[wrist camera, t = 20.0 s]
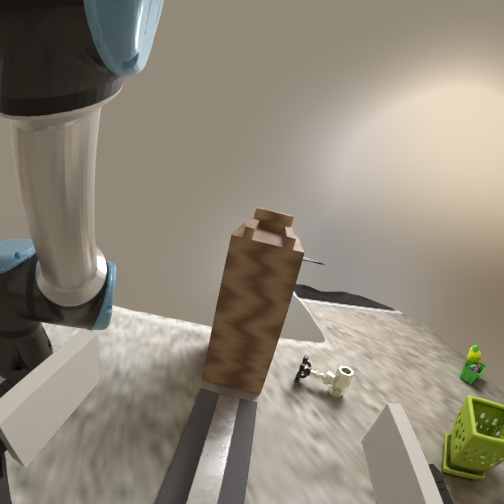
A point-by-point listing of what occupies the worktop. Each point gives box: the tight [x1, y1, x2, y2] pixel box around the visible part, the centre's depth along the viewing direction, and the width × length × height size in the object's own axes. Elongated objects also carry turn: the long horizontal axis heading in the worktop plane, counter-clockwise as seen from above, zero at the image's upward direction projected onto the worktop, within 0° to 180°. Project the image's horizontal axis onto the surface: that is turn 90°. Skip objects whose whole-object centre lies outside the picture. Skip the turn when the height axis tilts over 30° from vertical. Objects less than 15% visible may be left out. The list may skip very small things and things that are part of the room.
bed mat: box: [156, 389, 257, 504], centre depth 35 cm, size 11×29×1 cm, turn 174°
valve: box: [294, 355, 354, 398], centre depth 57 cm, size 7×7×12 cm
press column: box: [202, 207, 304, 394], centre depth 56 cm, size 12×16×34 cm
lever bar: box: [186, 394, 240, 504], centre depth 32 cm, size 4×25×4 cm, turn 174°
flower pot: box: [442, 396, 504, 480], centre depth 30 cm, size 14×14×13 cm
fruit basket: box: [460, 345, 486, 385], centre depth 65 cm, size 11×9×11 cm
